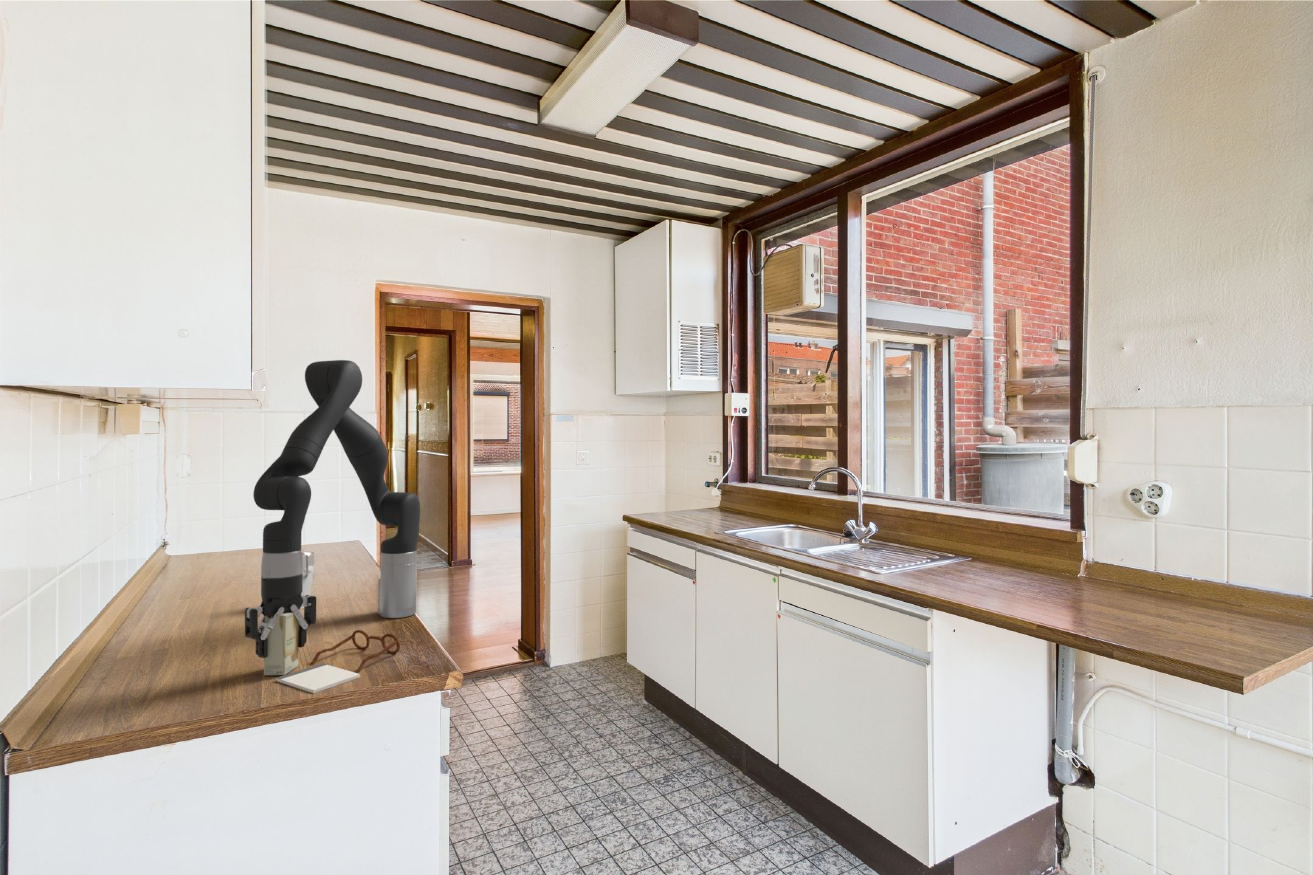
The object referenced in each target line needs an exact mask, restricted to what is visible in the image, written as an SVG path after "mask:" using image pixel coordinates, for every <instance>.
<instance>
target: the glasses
mask: <svg viewBox="0 0 1313 875" xmlns="http://www.w3.org/2000/svg"><path fill="white" fill-rule="evenodd" d="M352 632H353V633H352V634H351V635H350V636H348V637H346V638H345V639H343V640H341V641H339V642H338V643H337V644H335V645H334V646H332V647H330V648H324V649H322V650H319V651H318V652H317V653H316V654H315V656H314V657H313V659H312V660H311V662H310V664H309V666H310V667H313V666H315V664H316V662H317V660H319V657H320V655H322V654H324V653H326V652H333V651H335V650H336V649H338V648H339V647H341V646H342V645H344V644H345V643H347V642H349V641H350V640H352V644H353V645H354V647H356V648H357V649H358V650H364V651H365V650H367V649H368V648H369V647H370V642H371V641H370V640H376V641H377V640H378V641H380V642H381V645H382V648H383V649H382V650H380V651H379V652H378V653H376V654H373V655H369V656H367V657H365V658H364V659H362V661H361V662H360V664H359V666H358V668H357V670H356V672H355V673H358V674H360V673H361V671H362V669H363V667H364V666H365V664H366V662H368V661H370V660H372V659H376V658H378V657H380V656H382V655H384V654H385V653H388V654H392V653H395V654H397V653H398V652H400V648H401V645H400V641H399V639H398V637H397V636H396V635H395V634H392V633H386V634H383V636H382V637H381V636H378V635H377V636H376V635H369V634H368V633H367V632H365V631H364V630H362V629H356V630H354V631H352ZM357 634H362V635H363V637H365V640H366V644H365V646H361V645H359V644H358V643H357V640H356V635H357ZM387 637H389V638H392V639H393V640H394V641H393V642H392V643H390V644H389V645H386V642H385V639H386V638H387ZM394 646H396V649H395V650H390V649H391V648H393V647H394Z"/></svg>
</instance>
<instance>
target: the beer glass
mask: <svg viewBox="0 0 1313 875" xmlns="http://www.w3.org/2000/svg"><path fill="white" fill-rule="evenodd" d="M301 552H302V559H303V585H302V593H301V596H302V597H305V596H306V595H311V596H312V589H313V584H314V579H315V572H316V564H315V563H316V562H315V553H314V552H313V551H301ZM299 610H304V606H303V604H302V606H301V607H300V609H299Z"/></svg>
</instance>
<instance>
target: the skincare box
mask: <svg viewBox="0 0 1313 875" xmlns="http://www.w3.org/2000/svg"><path fill="white" fill-rule="evenodd" d="M271 618H272V617H271ZM271 618H268V617H267V616H265V623H269V621H270V620H271ZM266 639H268V649H267V657H266V658H263V659H264V660H263V676H284V675H287V674H289V673H291V672H292V671H293V670H294V669H296V668H297V667H299V647H298V644H299V624H298V622H297V621H296V618H295V616H294V614H293V613H292V612H287V613H283V614H282V615H277V616H276V618H275V626H274V628H273V629H272V630H270V632H269V634H268V636H267V637H266Z"/></svg>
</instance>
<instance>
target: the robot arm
mask: <svg viewBox="0 0 1313 875" xmlns="http://www.w3.org/2000/svg"><path fill="white" fill-rule="evenodd" d="M304 382H305V384H306V388H307V390H308V392H309V394H310V396H311V398H312V399H313V402H315V404H316V405H317V408H316V409H315V410H314V411H312V412H311V413H310V414H309V415H308V416H307V417H306V418H305V419H303V420H302V421H301V422H300V423H299V424H298V425H297V426H295V428H294V430H293V431H292V432H291V434H290V436H289V438H288V439H287V441H286V443H285V445H284V448H283V449H282V451H281V454H280V456H278V458H276V460H274V462H272V463H271V465H270V466H269V467H268V468H267V469H266V470H265V471H264V472H263V473H262V474H261V476H260V477H259V478H258V480H257V481H256V484H255V485H254V489H253V494H252V496H253V500H254V503H255V505H256V506H257V507H258V508H260V509H262V510H266V511H284V512H283V514H282V517H281V519H280V520H278V521H273V522H269V523H267V524H266V525H264V527H263V530H262V558H261V562H260V564H261V566H260V568H261V569H260V570H261V572H260V577H261V578H260V595H261V596H260V598H261V603H260V605H259V606H255V607H246V608H245V609H244V637H245V638H248V639H252V640H255V650H254V651H255V654H256V656H258V657H259V658H260V659H264V658H266V657H267V649H268V639H266V637H267V636H268V634H269V632H270V630H272V629H273V628H274V626H275V618H276V616H277V615H282V614H283V613H287V612H292V613H293V614H294V616H295V618H296V621H297V622H298V624H299V644H298V648H300V649H301V648H304V647H305V644H306V643H307V642H308V639H307V636H308V635H307V633H308V632H307V631H308V630H307V629H308V627H309V626H311V625H315V624H316V622H317V596H314V595H312V594H311V595H306V596H305V597H302V596H301V593H302V585H303V559H302V552H303V551H302V532H303V527H304V524H305V520H306V515H307V513H308V510H309V507H310V503H311V500H312V489H311V486H310V484H309V482H308V481H307V480H306V479H305V478H303V477H302V476H306V475H309V474H310V473H312V472H313V471H314V470H315V468H316V466H317V464H318V461H319V459H320V457H321V454H322V452H323V450H324V447H325V445H326V443H327V441H328V439H329V438H330V436H331V434H332V432H334V433H335V436H336V438H338V439H337V440H338V441H339V443H340V444H341V446H342V449H343V451H344V453H345V454H346V457H347V459H348V462H350V464H351V466H352V468H353V469H354V471H355V474H356V475H357V478H358V479H359V481H360V484H361V486H362V488H363V491H364V492H365V495H366V497H367V500H368V503H369V506H370V507H371V511H372V513H373V516H374V518H375V519H376V521H377V522H378V523H379V524H380V525H382V526H389V527H397V530H396V534H395V535H394V536H392V537H390V538H386V539H384V540H382V541H381V543H380V578H379V579H378V585H377V586H378V587H377V588H378V590H377V591H378V592H377V593H378V595H377V596H378V597H377V613H378V615H380V617H382V618H386V619H399V618H400V619H401V618H406V617H411V616H413V615H415V614H416V613H417V595H418V594H417V584H418V583H417V580H418V578H417V577H418V576H417V571H418V570H417V569H418V568H417V567H418V566H417V565H418V563H417V562H418V560H417V558H418V557H417V554H418V553H417V549H418V542H419V539H420V522H421V521H420V520H421V503H420V502H421V501H420V499H419V497H418V496H417V494H416V493H413V492H401V491H400V492H399V491H396V492H395V491H391V490H390V489H389V487H388V485H387V483H386V481H385V478H384V476H385V474H386V470H387V466H388V463H389V452H388V449H387V446H386V444H385V442H384V441H383V438H382V436H381V434H380V432H379V431H378V430H377V429H376V428H375V427H374V426H373V425H372V424H371V423H370V422H368V421H367V420H366V419H364V418H363V417H362V416H361V415H359V414H358V413H357V412H355V411H354V410H352V409H351V405H352V404H353V403H354V401H355V400H356V398H357V396H358V395H359V394H360V391H361V389H362V386H363V375H362V371H361V368H360V366H358V364H357V363H356V362H354V361H352V360H347V359H346V360H345V359H337V360H319V361H314V362H311V363H310V364H308V365H307V366H306V368H305V371H304ZM302 604H303V606H304V609H303V614H302V612H300V610H301V609H300V607H301V606H302ZM411 610H412V611H413V612H412V611H411ZM413 613H414V614H413ZM261 614H262V615H263V616H262V618H261V619H260V620H258V618H260V615H261ZM265 616H267V617H268V618H271V617H272V618H271V620H270V621H269V623H265Z"/></svg>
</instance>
